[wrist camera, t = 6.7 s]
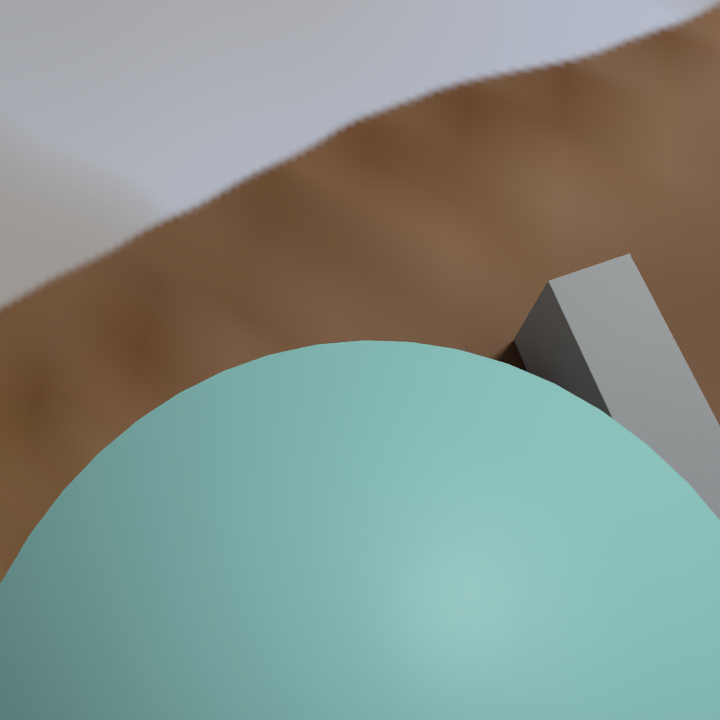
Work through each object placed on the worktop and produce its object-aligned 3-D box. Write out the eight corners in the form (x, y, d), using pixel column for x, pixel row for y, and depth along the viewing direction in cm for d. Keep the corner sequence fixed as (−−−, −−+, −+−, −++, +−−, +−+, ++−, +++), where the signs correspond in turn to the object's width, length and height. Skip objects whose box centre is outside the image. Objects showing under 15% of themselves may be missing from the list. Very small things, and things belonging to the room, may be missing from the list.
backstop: (662, 684, 14) (770, 756, 10) (513, 339, 17) (548, 280, 13) (734, 659, 14) (873, 720, 10) (574, 319, 17) (629, 253, 13)
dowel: (503, 560, 14) (1052, 781, 2) (397, 682, 14) (379, 1836, 2) (391, 452, 15) (361, 206, 3) (286, 561, 15) (-222, 753, 3)
